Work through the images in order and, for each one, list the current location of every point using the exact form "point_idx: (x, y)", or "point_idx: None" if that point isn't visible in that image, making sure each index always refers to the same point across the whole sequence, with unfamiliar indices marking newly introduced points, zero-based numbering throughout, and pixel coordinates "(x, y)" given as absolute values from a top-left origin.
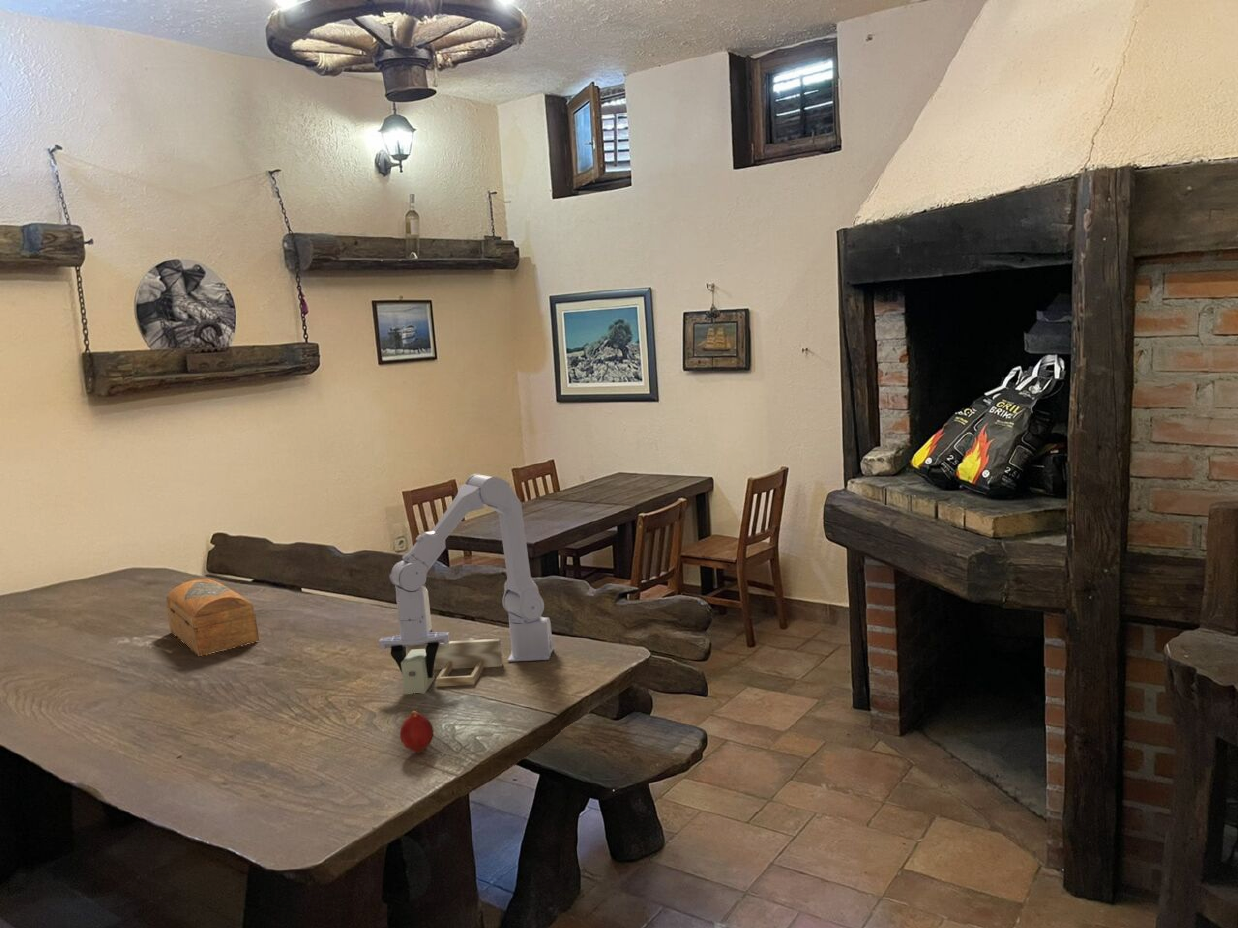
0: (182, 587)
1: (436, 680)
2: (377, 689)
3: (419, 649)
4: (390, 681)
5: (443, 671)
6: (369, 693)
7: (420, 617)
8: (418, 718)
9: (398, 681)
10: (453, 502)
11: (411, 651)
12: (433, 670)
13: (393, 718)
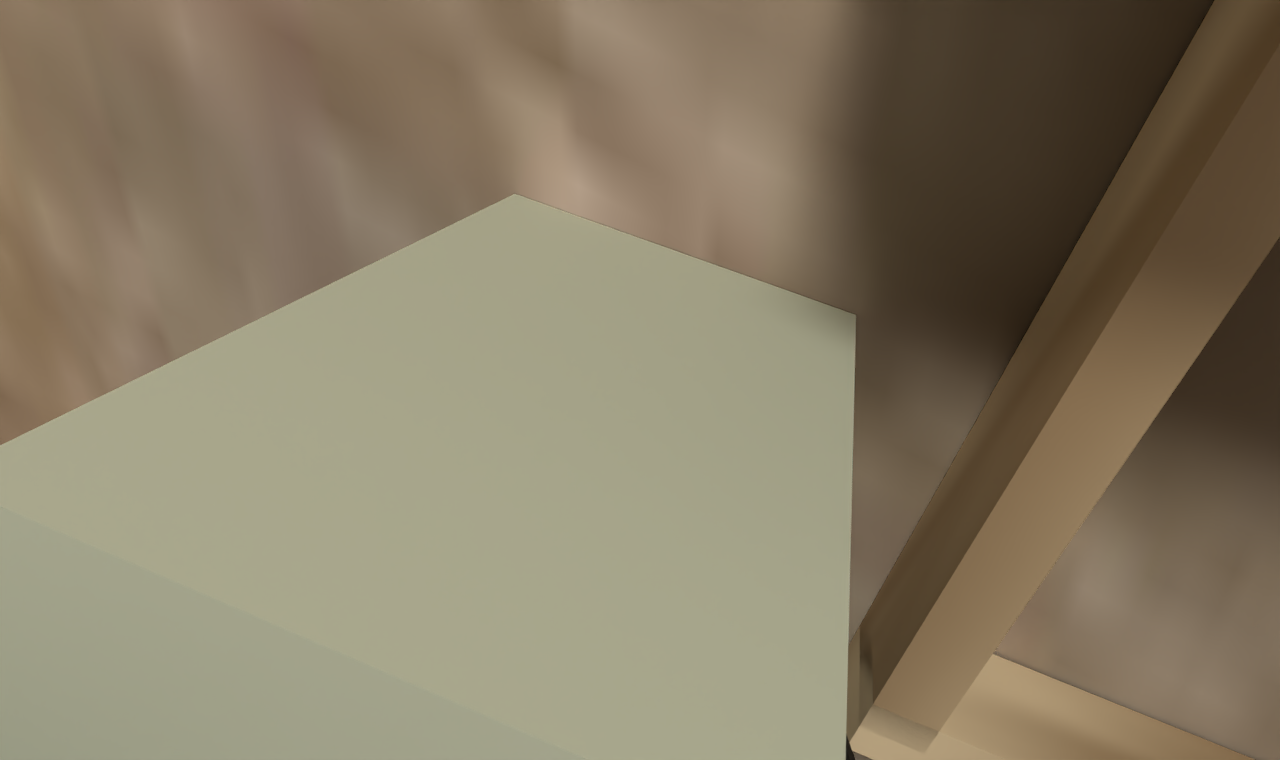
0: None
1: (848, 721)
2: (56, 320)
3: (285, 646)
4: (135, 68)
5: (1061, 506)
6: (10, 406)
7: None
8: None
9: (260, 132)
10: None
11: (23, 688)
12: (852, 388)
13: None
